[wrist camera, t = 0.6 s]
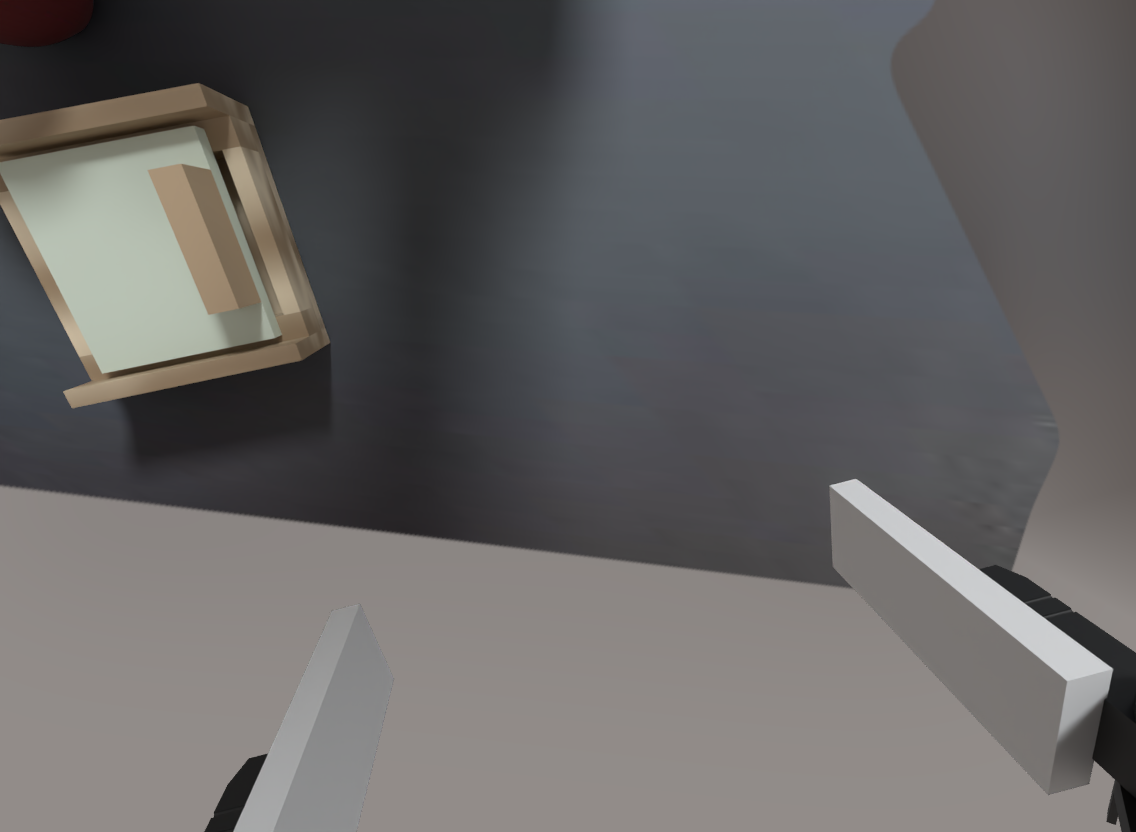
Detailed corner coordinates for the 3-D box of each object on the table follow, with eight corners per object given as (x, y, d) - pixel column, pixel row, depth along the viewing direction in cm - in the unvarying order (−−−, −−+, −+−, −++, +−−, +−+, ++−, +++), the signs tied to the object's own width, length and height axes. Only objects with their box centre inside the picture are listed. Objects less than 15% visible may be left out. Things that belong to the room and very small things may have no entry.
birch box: (18, 150, 30) (-77, 134, 25) (248, 106, 31) (198, 82, 26) (133, 383, 35) (71, 408, 30) (330, 342, 35) (301, 360, 30)
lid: (12, 165, 28) (-59, 156, 24) (204, 129, 28) (161, 114, 25) (114, 369, 32) (65, 386, 28) (282, 334, 32) (254, 347, 29)
